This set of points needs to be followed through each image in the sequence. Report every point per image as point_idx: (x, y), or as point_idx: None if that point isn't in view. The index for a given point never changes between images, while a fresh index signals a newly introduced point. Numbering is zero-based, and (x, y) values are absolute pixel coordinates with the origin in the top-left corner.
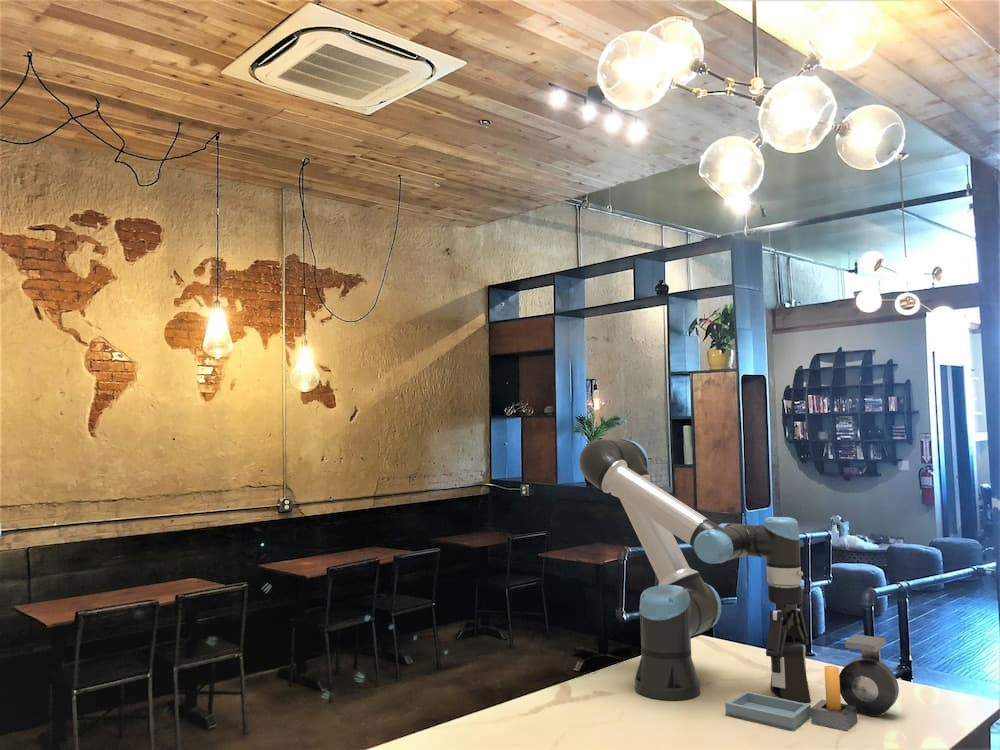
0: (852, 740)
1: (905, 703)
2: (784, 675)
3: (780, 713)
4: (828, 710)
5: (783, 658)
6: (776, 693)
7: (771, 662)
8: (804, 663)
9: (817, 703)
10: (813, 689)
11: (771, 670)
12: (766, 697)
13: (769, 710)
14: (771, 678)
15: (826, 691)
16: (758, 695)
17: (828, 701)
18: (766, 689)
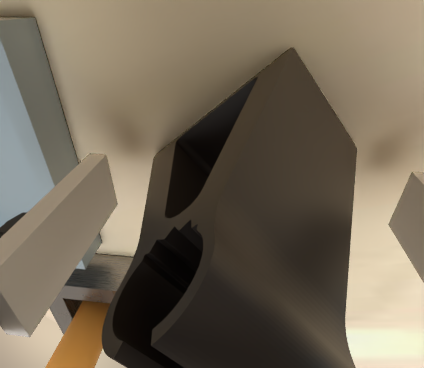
0: (47, 313)
1: (355, 365)
2: (88, 242)
3: (23, 187)
4: (61, 311)
5: (25, 330)
6: (235, 100)
7: (5, 238)
8: (416, 269)
9: (87, 289)
10: (399, 195)
11: (42, 199)
12: (21, 143)
13: (13, 152)
14: (276, 79)
15: (53, 354)
16: (6, 108)
17: (67, 328)
18: (301, 19)
